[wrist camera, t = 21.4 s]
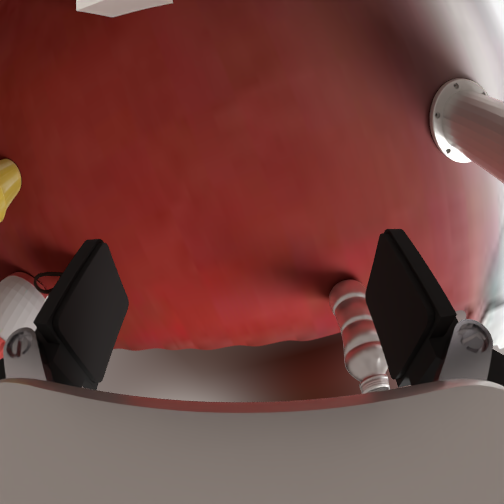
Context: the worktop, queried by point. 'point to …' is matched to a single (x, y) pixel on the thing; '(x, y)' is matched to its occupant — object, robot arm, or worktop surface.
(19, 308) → the citrus juicer
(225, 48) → the worktop surface
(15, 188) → the plant pot
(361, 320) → the plastic bottle
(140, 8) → the pale grey cube
